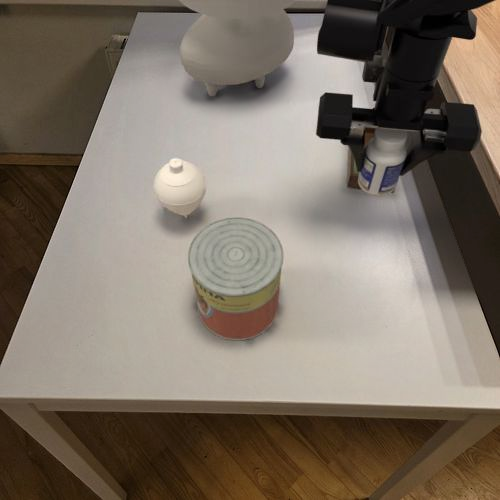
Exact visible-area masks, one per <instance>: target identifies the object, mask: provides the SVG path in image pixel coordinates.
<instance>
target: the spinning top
mask: <svg viewBox="0 0 500 500" xmlns="http://www.w3.org/2000/svg"><path fill="white" fill-rule="evenodd" d="M153 192H154V194H155V197H156V199H157V201H158V202H159V203H160V204H161V205H162V206H163V207H164V208H166V209H167V210H168V211H170V212H172V213H174V214H176V215H180V216H184V218H185V219H187V218H188V215H190V214H191V213H193V212H194V211H195V210H196V209H197V208H198V207H199V206H200V204H201V203H202V202H203V199H204V198H205V196H206V192H207V181H206V177H205V174H204V173H203V172H202V171H201V169H200V168H199V167H197V166H196V165H195V164H193V163H191V162H189V161H186V160H183V159H182V158H178V157H173V158H171V159H170V160H169V162H168V163H166V164H164V165H163V166H162V167H161V168H160V170H158V172H157V174H156V175H155V178H154V180H153Z"/></svg>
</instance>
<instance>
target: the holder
mask: <svg viewBox="0 0 500 500" xmlns="http://www.w3.org/2000/svg"><path fill="white" fill-rule="evenodd" d="M375 130H376V128H369V127H366V128H365V148H366V145H367V143H368V142H369V141H370V140H371V139H372V138H373V136H374V133H375ZM365 148H364V152H365ZM358 176H359V172H358V171H357V168H356V163H355V159H354V156H353V154H352V152H351V150H350V148H349V147H348V161H347V178H346V188H347V189H355V190H363V189H362V188H361V187H360V186H359V183H358ZM397 184H398V183H397ZM397 184H396V186H397ZM395 190H396V188H395V189H394V190H393V191H392V192H391V193H390V194H394V193H395Z"/></svg>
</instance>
